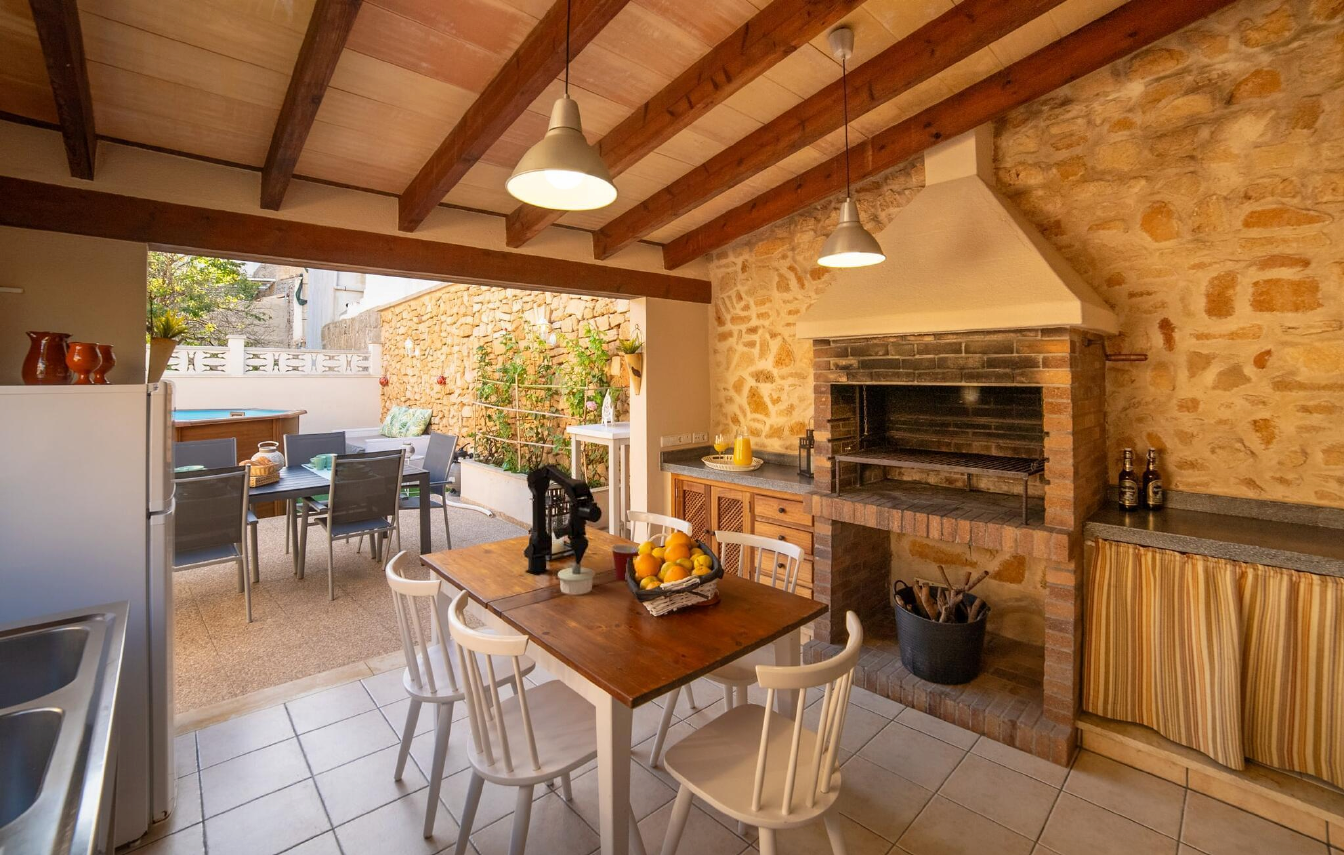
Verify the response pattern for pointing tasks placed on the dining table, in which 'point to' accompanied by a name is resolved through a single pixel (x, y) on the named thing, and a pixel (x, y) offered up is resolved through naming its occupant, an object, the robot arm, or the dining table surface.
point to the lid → (576, 573)
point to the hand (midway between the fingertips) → (576, 560)
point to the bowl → (576, 587)
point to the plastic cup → (622, 558)
